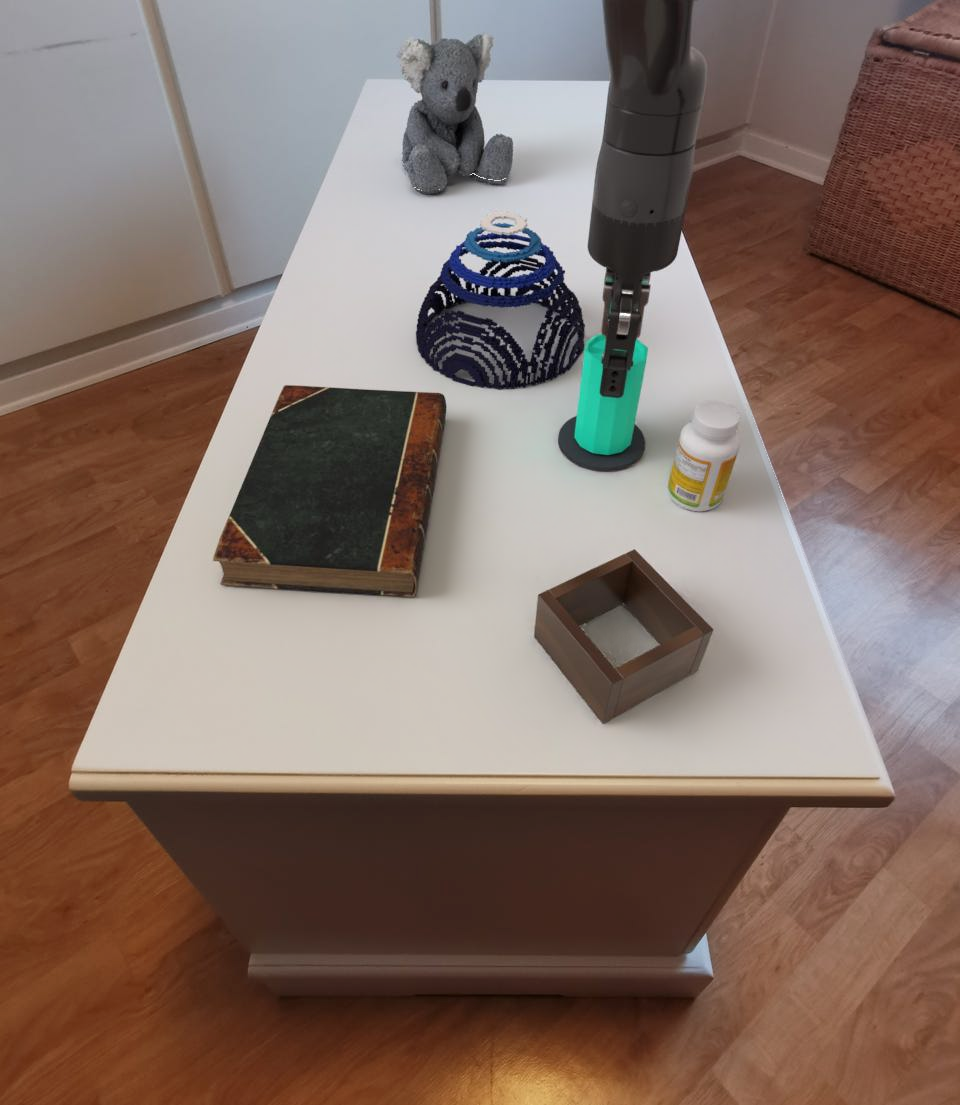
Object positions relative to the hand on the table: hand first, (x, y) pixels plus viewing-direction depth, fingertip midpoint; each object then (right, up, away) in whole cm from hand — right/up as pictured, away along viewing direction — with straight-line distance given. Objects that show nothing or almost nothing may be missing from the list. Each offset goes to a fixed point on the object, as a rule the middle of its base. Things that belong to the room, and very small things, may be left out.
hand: (612, 374), depth 74 cm
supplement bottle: (+8, -12, +1) cm, 14 cm away
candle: (0, -5, +6) cm, 8 cm away
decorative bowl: (-10, +9, +20) cm, 24 cm away
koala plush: (-18, +46, +53) cm, 72 cm away
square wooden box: (-2, -25, -12) cm, 28 cm away
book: (-26, -12, +1) cm, 28 cm away
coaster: (0, -6, +6) cm, 9 cm away
